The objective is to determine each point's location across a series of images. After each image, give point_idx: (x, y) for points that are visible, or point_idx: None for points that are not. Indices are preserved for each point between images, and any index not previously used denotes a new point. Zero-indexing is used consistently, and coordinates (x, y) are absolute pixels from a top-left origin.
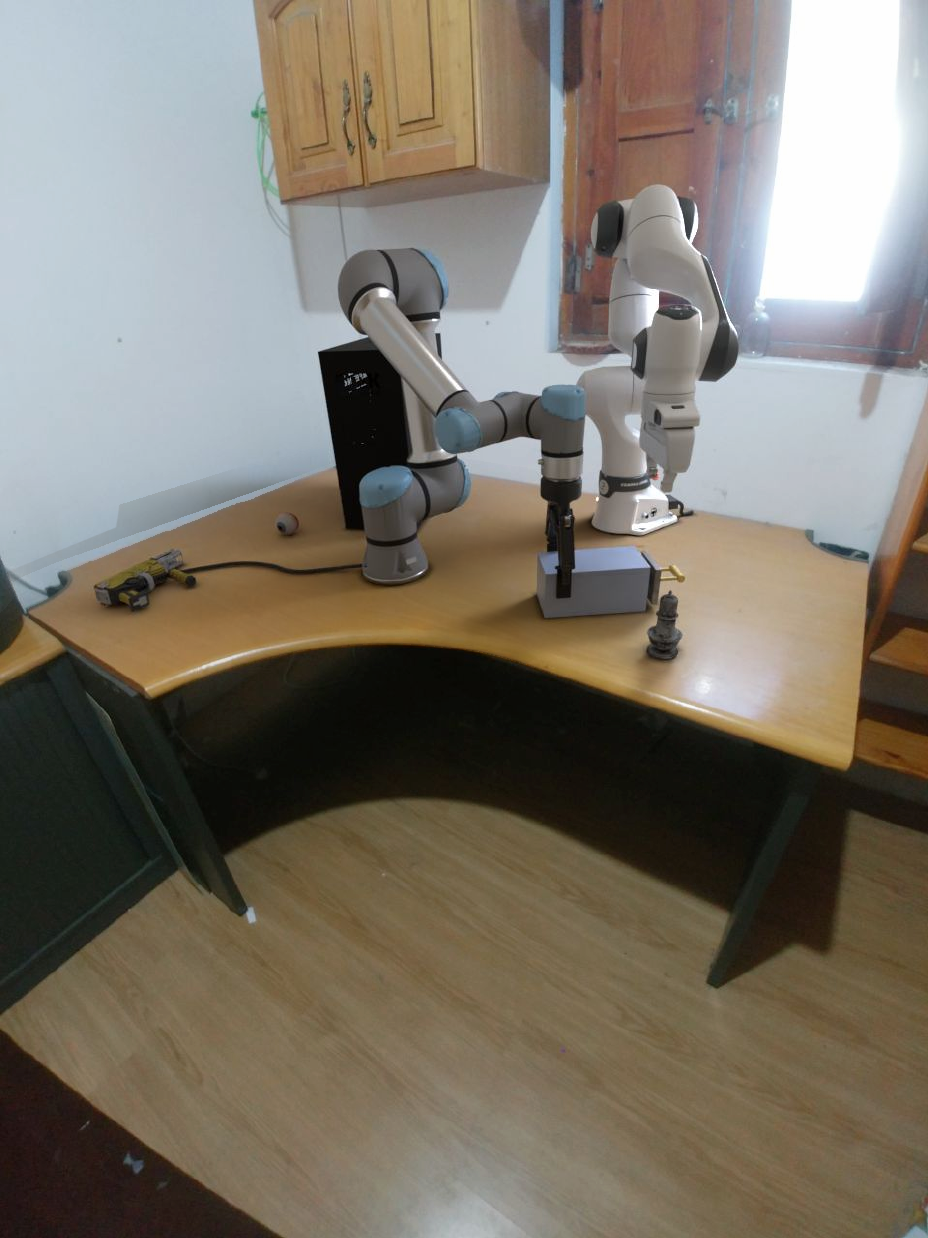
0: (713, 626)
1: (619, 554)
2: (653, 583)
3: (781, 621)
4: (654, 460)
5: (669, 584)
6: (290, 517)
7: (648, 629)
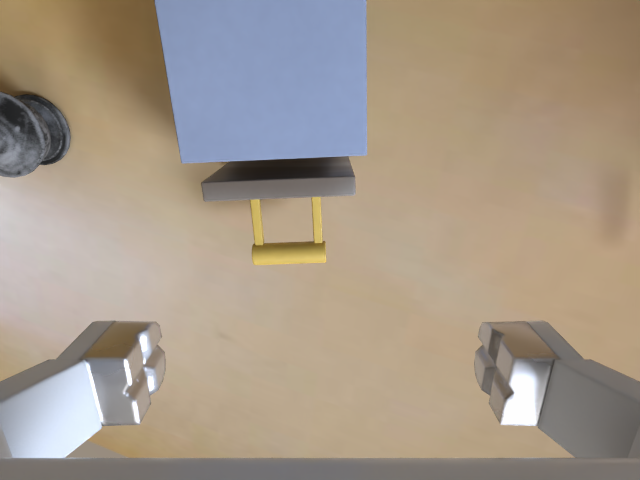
0: (157, 268)
1: (294, 77)
2: (219, 172)
3: (182, 387)
4: (192, 461)
5: (360, 238)
6: None
7: (11, 98)
